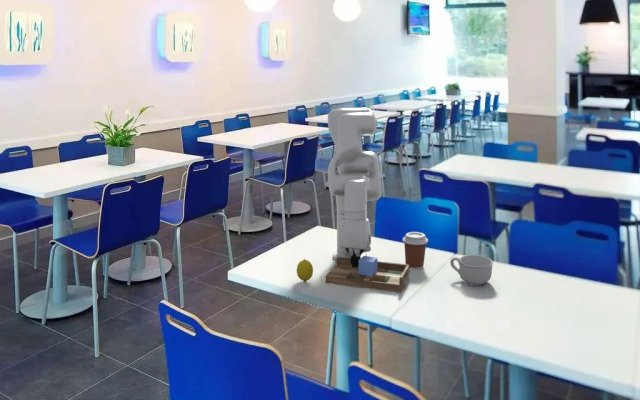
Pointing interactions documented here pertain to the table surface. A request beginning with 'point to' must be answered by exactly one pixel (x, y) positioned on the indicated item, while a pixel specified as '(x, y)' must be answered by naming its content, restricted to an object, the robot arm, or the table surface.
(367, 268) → the blue block
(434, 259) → the table surface
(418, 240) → the coffee cup
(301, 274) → the lemon
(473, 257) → the teacup
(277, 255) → the table surface
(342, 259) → the wooden rimmed tray
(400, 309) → the table surface
